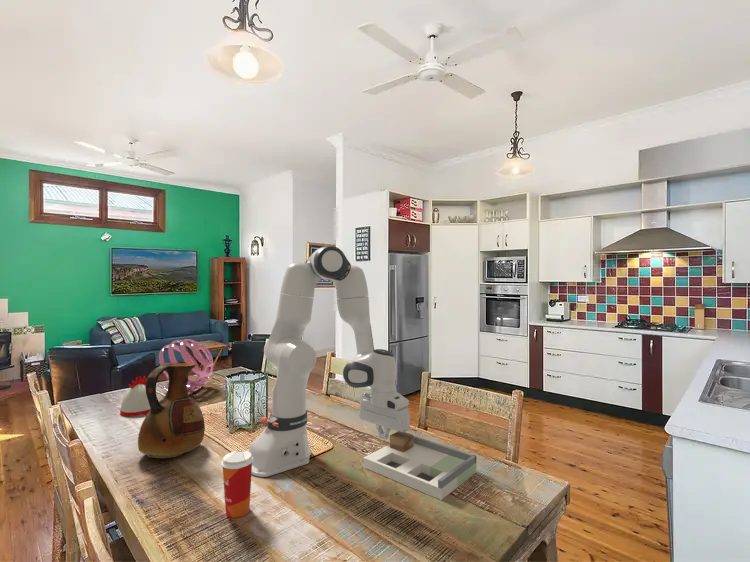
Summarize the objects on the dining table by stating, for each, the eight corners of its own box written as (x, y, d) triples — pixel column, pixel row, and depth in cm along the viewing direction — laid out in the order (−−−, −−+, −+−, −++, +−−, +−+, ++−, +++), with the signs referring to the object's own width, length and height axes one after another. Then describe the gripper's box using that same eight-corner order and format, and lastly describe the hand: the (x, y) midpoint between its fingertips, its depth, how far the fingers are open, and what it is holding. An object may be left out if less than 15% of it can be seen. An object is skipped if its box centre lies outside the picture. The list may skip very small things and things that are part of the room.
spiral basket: (131, 357, 197) (177, 325, 197) (168, 359, 224) (209, 332, 224) (153, 407, 189) (201, 375, 189) (189, 403, 216) (231, 375, 216)
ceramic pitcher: (217, 445, 141) (216, 360, 140) (165, 470, 123) (165, 372, 122) (178, 436, 149) (177, 355, 149) (124, 458, 131) (123, 366, 130)
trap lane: (441, 500, 107) (441, 481, 107) (363, 467, 125) (363, 451, 125) (476, 472, 122) (476, 455, 122) (402, 446, 140) (402, 432, 140)
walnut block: (403, 452, 128) (403, 439, 128) (389, 447, 132) (389, 435, 132) (413, 446, 133) (413, 434, 133) (400, 442, 136) (400, 430, 136)
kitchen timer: (163, 409, 179) (162, 375, 179) (130, 418, 168) (130, 382, 168) (146, 403, 187) (146, 371, 187) (114, 412, 175) (113, 378, 175)
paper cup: (226, 503, 105) (226, 450, 105) (256, 502, 106) (256, 449, 105) (217, 521, 97) (216, 464, 97) (249, 520, 98) (249, 462, 98)
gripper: (354, 393, 142) (355, 433, 142) (401, 406, 128) (401, 449, 128) (367, 390, 146) (367, 427, 147) (413, 401, 133) (413, 443, 133)
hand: (383, 438), depth 137 cm, fingers closed
